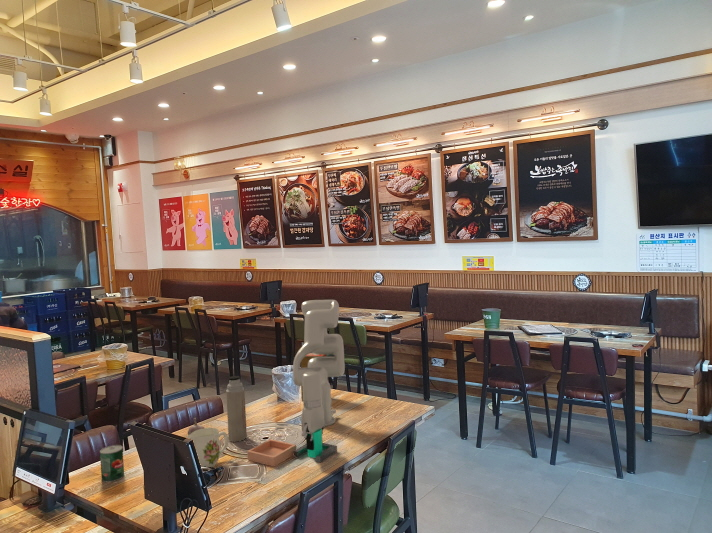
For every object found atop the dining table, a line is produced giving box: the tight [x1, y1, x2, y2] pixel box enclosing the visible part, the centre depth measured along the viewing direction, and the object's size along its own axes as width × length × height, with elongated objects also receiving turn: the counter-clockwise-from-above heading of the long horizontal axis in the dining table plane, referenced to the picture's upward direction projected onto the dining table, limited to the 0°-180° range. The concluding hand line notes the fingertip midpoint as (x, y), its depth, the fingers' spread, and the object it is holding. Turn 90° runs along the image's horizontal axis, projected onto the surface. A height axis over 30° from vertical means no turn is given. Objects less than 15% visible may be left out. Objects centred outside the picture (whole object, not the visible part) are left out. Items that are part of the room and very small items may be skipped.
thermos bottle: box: [225, 375, 248, 442], centre depth 228 cm, size 8×8×28 cm
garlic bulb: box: [187, 417, 205, 436], centre depth 235 cm, size 8×7×8 cm
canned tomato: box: [99, 444, 125, 483], centre depth 194 cm, size 8×8×11 cm
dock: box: [293, 442, 338, 464], centre depth 208 cm, size 12×13×2 cm
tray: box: [246, 438, 297, 467], centre depth 208 cm, size 14×14×4 cm
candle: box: [307, 429, 323, 459], centre depth 208 cm, size 6×6×12 cm
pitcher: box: [186, 427, 229, 468], centre depth 203 cm, size 11×18×14 cm, turn 138°
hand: (314, 446), depth 208 cm, fingers closed on candle, 5 cm apart
